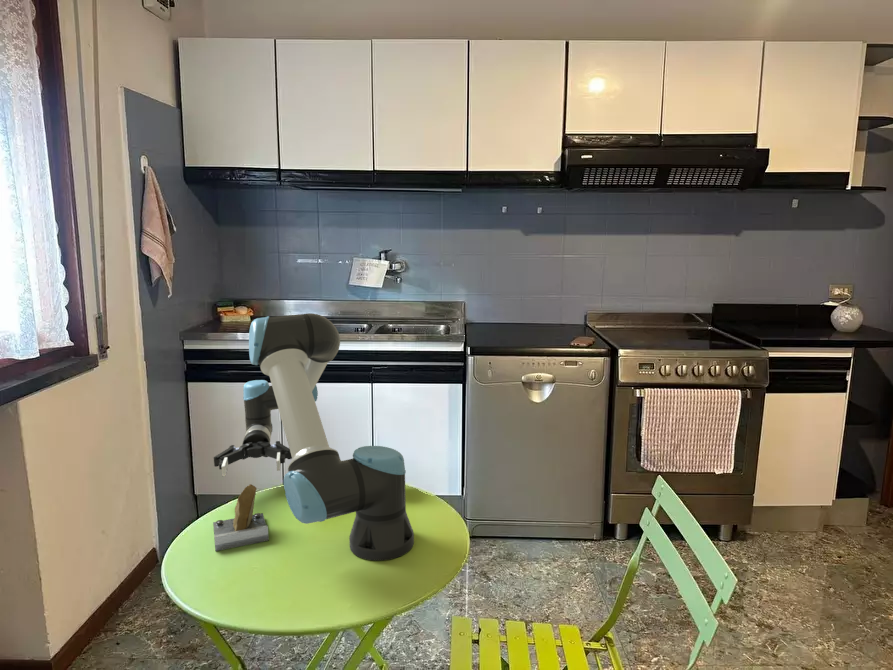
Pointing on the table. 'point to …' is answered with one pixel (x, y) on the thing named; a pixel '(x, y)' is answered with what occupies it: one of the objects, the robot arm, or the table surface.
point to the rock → (244, 508)
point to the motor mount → (240, 533)
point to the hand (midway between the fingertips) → (251, 468)
